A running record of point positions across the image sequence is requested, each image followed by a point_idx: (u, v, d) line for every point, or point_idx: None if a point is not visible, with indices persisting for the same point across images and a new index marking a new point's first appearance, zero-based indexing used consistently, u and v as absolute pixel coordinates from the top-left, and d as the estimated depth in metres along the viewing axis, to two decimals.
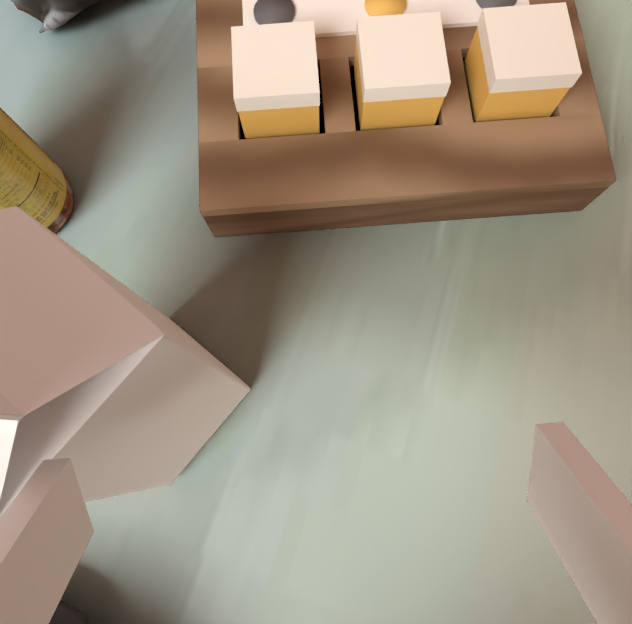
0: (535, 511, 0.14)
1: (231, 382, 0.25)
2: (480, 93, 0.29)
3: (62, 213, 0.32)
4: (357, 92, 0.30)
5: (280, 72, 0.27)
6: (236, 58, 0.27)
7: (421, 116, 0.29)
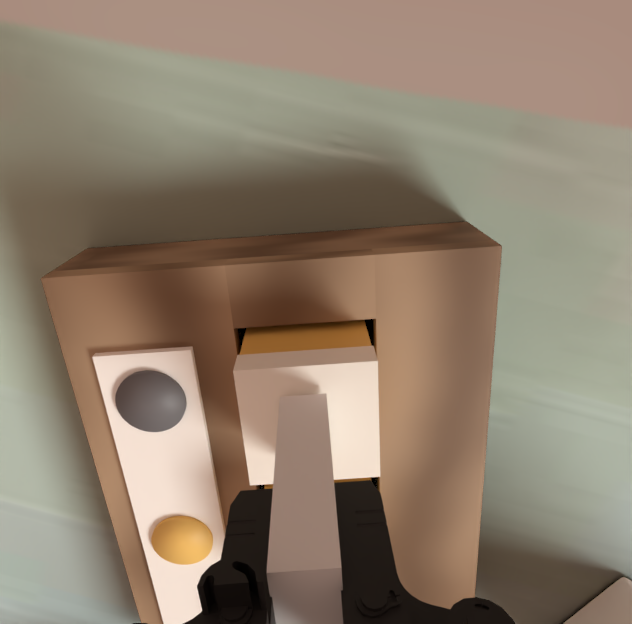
0: None
1: None
2: None
3: None
4: None
5: None
6: None
7: None
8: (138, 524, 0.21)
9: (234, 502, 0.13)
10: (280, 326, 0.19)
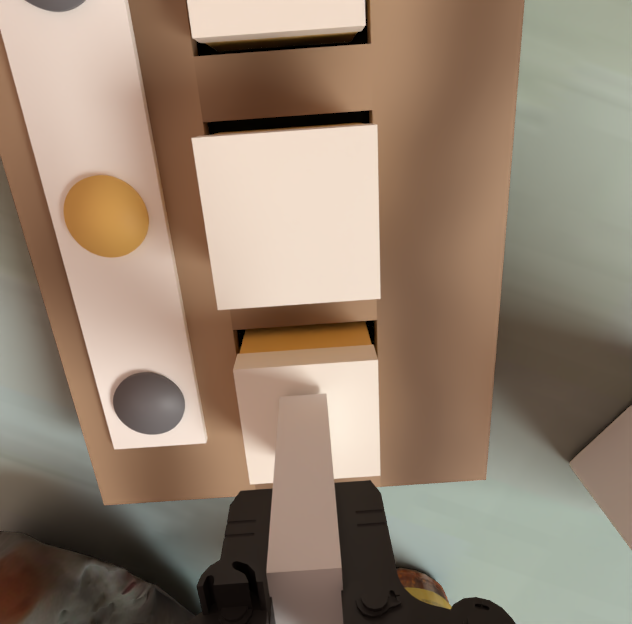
0: None
1: None
2: (325, 37, 0.15)
3: (421, 583, 0.27)
4: None
5: (336, 416, 0.16)
6: None
7: None
8: (45, 189, 0.16)
9: (233, 501, 0.13)
10: None
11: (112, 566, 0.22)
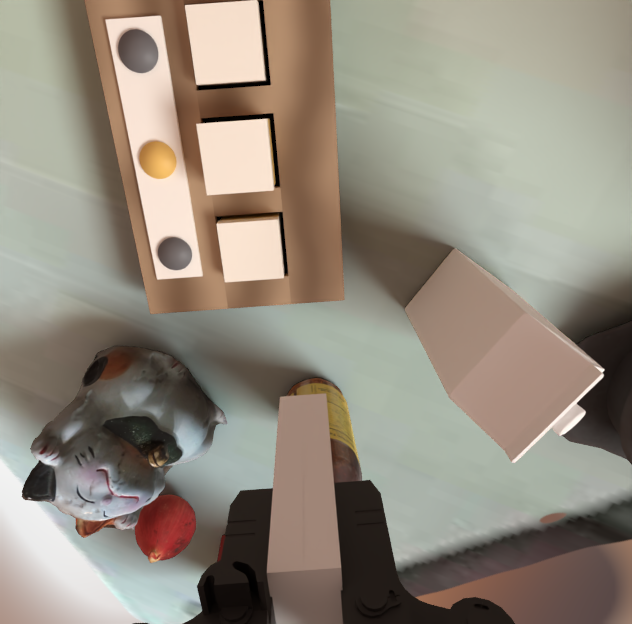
0: None
1: (474, 264, 0.39)
2: (253, 81, 0.35)
3: (326, 383, 0.47)
4: None
5: (262, 247, 0.38)
6: (251, 277, 0.38)
7: (270, 133, 0.35)
8: (131, 147, 0.36)
9: (234, 502, 0.13)
10: None
11: (165, 354, 0.42)
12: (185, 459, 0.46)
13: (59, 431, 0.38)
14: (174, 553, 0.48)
